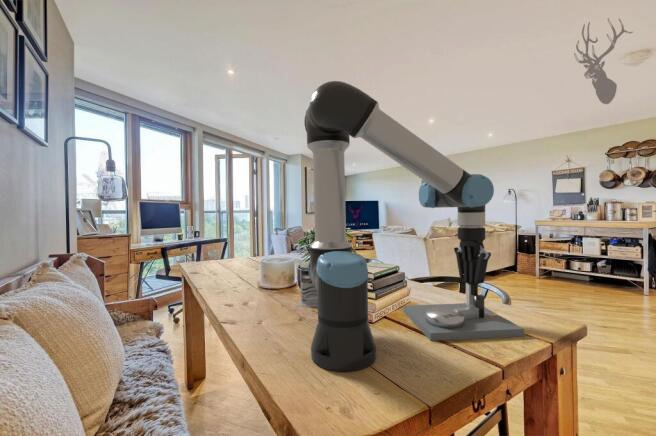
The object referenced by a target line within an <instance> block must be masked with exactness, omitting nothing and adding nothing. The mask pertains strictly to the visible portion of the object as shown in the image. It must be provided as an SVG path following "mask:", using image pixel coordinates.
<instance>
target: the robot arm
mask: <svg viewBox="0 0 656 436" xmlns="http://www.w3.org/2000/svg"><path fill="white" fill-rule="evenodd" d="M379 105H380V104H379V102H378V101H377V100H375V98H373V97H372V96H370V95H368V93H366V92H364V91H363V90H361V89H359V88H358V87H356V86H353V85H352V84H350V83H347V82H345V81H338V80H332V81H331V80H330V81H327V82H325V83H323V84H321V85H320V86H318V87H317V88H316V89H315V90H314V92H313V94H311V97H310V101H309V104H308V108H307V109H306V112H305V114H304V123H303V124H304V127H305V132H306V146H307V149H308V150H310V151H311V153H312V167H313V174H312V175H313V207H314V210H313V211H314V213H313V214H314V240H313V242H311V245H310V244H309V261H310V263H309V267H308V269H307V271H308V275H309V277H310V280H311V282H310V283H313V285H314V286H315V288H316V290H317V294H318V307H317V324H316V328H315V331H314V335H313V338H312V341H311V345H310V356H311V360H312V361H313V362H314V363H315V364H316V365H317V366H319V367H320V368H323V369H327V370H329V371H336V372H353V371H358V370H363V369H366V368H367V367H369V366H371V365H372V364H373V363H375V361H376V358H377V345H376V342H375V338H374V336H373V334H372V330H371V327H370V324H369V301H368V300H369V292H368V291H369V286H368V284H369V281H368V279H369V269H368V262H367V259H366V258H365V257H364V255H361V254H360V253H357V252H353V246H352V244H351V242H349V241H348V239H347V222H346V221H347V218H346V217H347V214H346V180H345V176H346V175H345V152H346V150H347V149H348V148H349V147H350V145H351V144H350V143H351V142H350V141H351V140H350V137H351V138H353V139H357V138H361V139H362V140H364V141H365V142H367V143H368V144H370V145H371V146H373V147H374V148H376V150H379V151H380V152H381V153H383V154H384V155H386V156H387V157H388V158H390V159H391V160H393V161H394V162H396V163H398V164H399V165H401V166H402V168H403V167H404V168H405V169H406V170H407V171H409V172H410V173H412V174H413V175H415V176H417V177H418V178H419V179H421V180H422V181H423V183H422V184H421V185H420V187H419V188H418V201H419V203H420V205H421V206H422V207H423V208H428V209H429V208H431V209H434V208H457V219H456V220H457V221H456V222H457V225H458V226H459V227H458V228H457V239H458V240H459V241H460V242H459V246H457V247H454V248H453V250H454V253H455V256H456V257H455V258H456V263H457V269H458V275H459V279H461V280H463V282H464V291H465V303H466V305H468V306H472V305H474V295H475V294H479V285H480V284H484V282H485V277H486V273H487V268H488V262H489V259H490V258H491V256H492V253H491V252H489V251H486V250H485V246H484V241H485V240H486V228H485V227H484V226H485V225H486V205H487V204H489V203H490V201H491V200H492V198H493V197H494V193H495V188H494V185H493V184H494V183H493V182H492V181H491V179H490V178H489V177H488V176H486V175H483V174H480V173H469V172H468V171H467V170H465V169H463V168H462V167H460V166H459V165H458V164H456V163H455V162H454V161H452V160H450V159H449V158H448V157H447V156H445V155H443V153H442V152H440V151H438V149H435V148H434V147H433V146H432V145H430V144H429V143H427V142H426V141H424V140H423V139H421V138H420V137H419V136H418V135H416V134H415V133H414V132H412V131H411V130H409V129H408V128H406V127H405V126H404V125H402V124H401V123H399V121H397V120H395V119H394V118H392V116H390V115H389V114H387V113H385V112H384V111H383V110H381V109H380V106H379Z"/></svg>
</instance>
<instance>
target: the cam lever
mask: <svg viewBox="0 0 656 436" xmlns="http://www.w3.org/2000/svg"><path fill="white" fill-rule="evenodd" d="M484 307H485V295H483V294H479V293H478V294H475V295H474V306H470V307H463V308H456V309H452V308H445V307H434V308H429V309H427V310H426V321H427V322H428V323H429V324H431V325H433V326H436V327H441V328H449V329H454V328H460V327H463V326H464V320H468V319H474V318H484Z"/></svg>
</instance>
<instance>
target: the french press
mask: <svg viewBox="0 0 656 436" xmlns="http://www.w3.org/2000/svg"><path fill="white" fill-rule="evenodd" d="M307 238H308V239H309V243H310V244H309V246H310V245H311V244H312V239H313V238H314V236H313V234H308V235H307ZM311 238H312V239H311ZM309 263H310V260H309V261H304V262H303V263H301V264H300V265H299V267H300V269H303V270H308V267H309ZM297 304H298V306H300V307H303V308H318V294H317V290H316V288H315V286H314V285H313V283H312V282H311V280H310V277H309V274H303V275H302V276H301V279H300V300H299V302H298V303H297Z"/></svg>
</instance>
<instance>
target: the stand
mask: <svg viewBox="0 0 656 436" xmlns="http://www.w3.org/2000/svg"><path fill="white" fill-rule="evenodd" d="M402 306H403V307H402V308H403V309H402V310H403V314H404V315H406V316H407V317H408V318H409V319H410V320H411V321H412V323H413V324H414V325H415V326H416V327H417V329H419V330H420V332H422V333H423V335H425V336H426V338H427V339H428V340H429V341H430V342H435V341H436V342H437V341H456V340H457V341H458V340H459V341H460V340H477V339H496V338H497V339H500V338H518V337H519V338H521V337H525V329H524V328H523V327H522V326H520V325H518V324H516V323H514V322H512V321H510V320H509V319H507V318H505V317H503V316H502V315H499V314H498V313H497V312H494V311H492V310H491V309H489V308H488V307H485V306H484V318H474V319H468V320H464V326H463V327H460V328H454V329H449V328H441V327H436V326H433V325H431V324H429V323H428V322H427V321H426V310H427V309H429V308H434V307H445V308H452V309H456V308H463V307H470V306H468V305H466V302H464V303H463V302H462V303H437V304H436V303H435V304H417V305H416V304H413V305H411V304H409V305H402ZM472 306H474V305H472Z"/></svg>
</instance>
